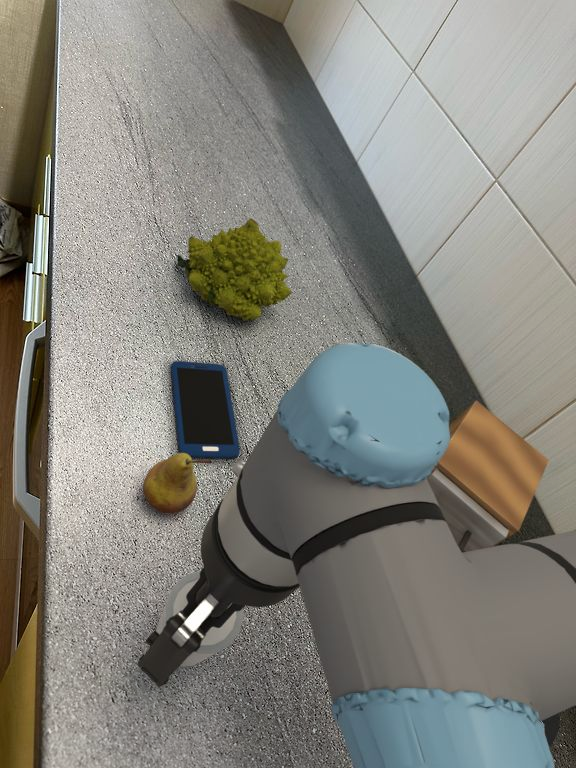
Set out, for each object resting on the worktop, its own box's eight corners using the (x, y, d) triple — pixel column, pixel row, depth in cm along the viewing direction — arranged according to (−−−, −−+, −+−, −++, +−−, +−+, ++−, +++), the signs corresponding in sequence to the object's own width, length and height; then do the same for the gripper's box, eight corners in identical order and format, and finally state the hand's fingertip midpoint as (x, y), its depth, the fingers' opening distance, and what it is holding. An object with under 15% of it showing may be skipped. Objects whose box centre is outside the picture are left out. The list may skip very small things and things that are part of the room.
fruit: (186, 473, 65) (215, 416, 57) (192, 520, 62) (224, 468, 53) (136, 474, 63) (159, 415, 54) (140, 523, 60) (164, 469, 51)
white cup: (142, 605, 54) (158, 578, 49) (211, 590, 57) (232, 563, 52) (156, 683, 50) (174, 663, 45) (229, 663, 53) (253, 642, 48)
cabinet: (462, 564, 72) (519, 531, 64) (390, 501, 74) (436, 460, 66) (496, 496, 81) (549, 460, 74) (431, 441, 83) (476, 400, 75)
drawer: (446, 591, 68) (494, 565, 61) (378, 530, 69) (416, 498, 63) (491, 501, 79) (535, 471, 73) (431, 450, 81) (469, 416, 74)
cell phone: (179, 458, 66) (180, 455, 65) (169, 363, 74) (170, 359, 73) (239, 459, 69) (241, 456, 68) (224, 367, 77) (225, 364, 76)
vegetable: (149, 240, 80) (233, 182, 74) (215, 275, 94) (291, 227, 88) (174, 332, 75) (266, 278, 70) (240, 355, 89) (321, 310, 83)
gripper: (307, 413, 44) (223, 534, 60) (113, 603, 31) (73, 693, 47) (383, 478, 43) (276, 584, 59) (216, 705, 29) (137, 760, 46)
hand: (186, 632), depth 53 cm, fingers closed on white cup, 7 cm apart
